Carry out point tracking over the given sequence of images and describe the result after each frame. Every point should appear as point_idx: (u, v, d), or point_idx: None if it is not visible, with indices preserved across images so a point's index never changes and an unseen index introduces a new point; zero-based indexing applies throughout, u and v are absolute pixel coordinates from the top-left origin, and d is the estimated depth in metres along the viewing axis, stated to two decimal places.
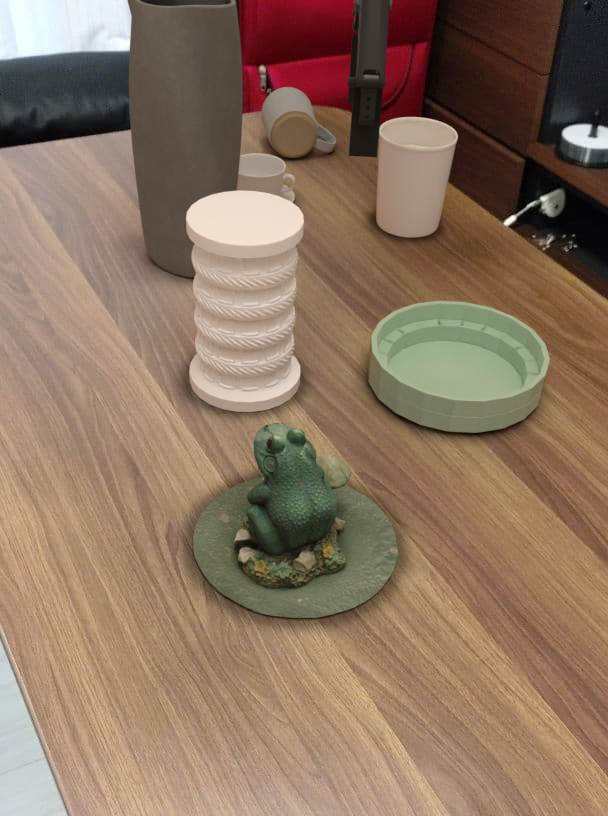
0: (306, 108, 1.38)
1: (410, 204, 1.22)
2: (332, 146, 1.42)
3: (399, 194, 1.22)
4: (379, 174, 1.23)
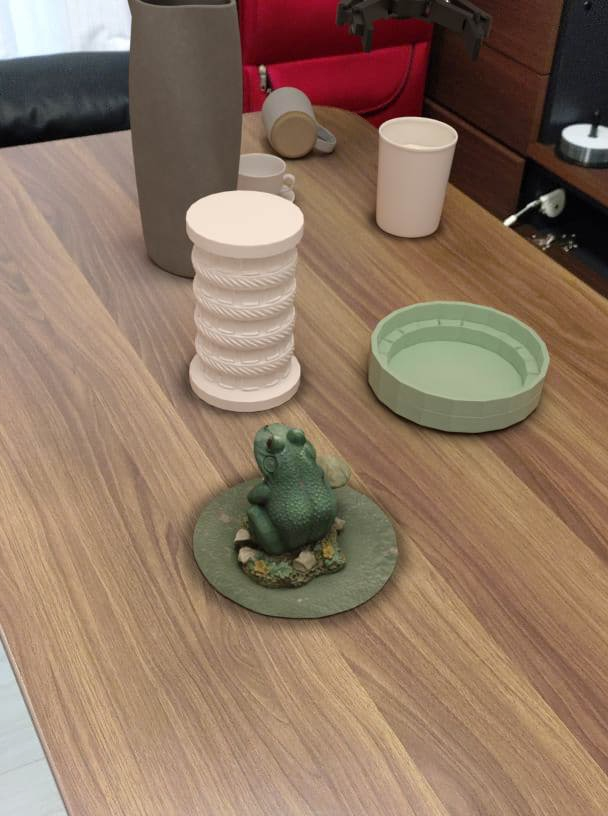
0: (306, 108, 1.38)
1: (410, 204, 1.22)
2: (332, 146, 1.42)
3: (399, 194, 1.22)
4: (379, 174, 1.23)
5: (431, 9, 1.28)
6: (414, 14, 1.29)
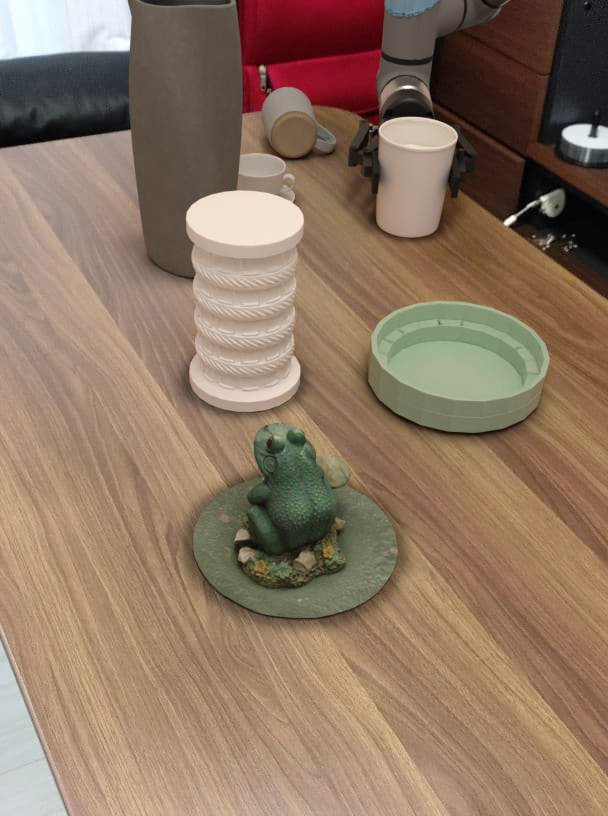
0: (306, 108, 1.38)
1: (410, 204, 1.22)
2: (332, 146, 1.42)
3: (399, 194, 1.22)
4: None
5: None
6: None
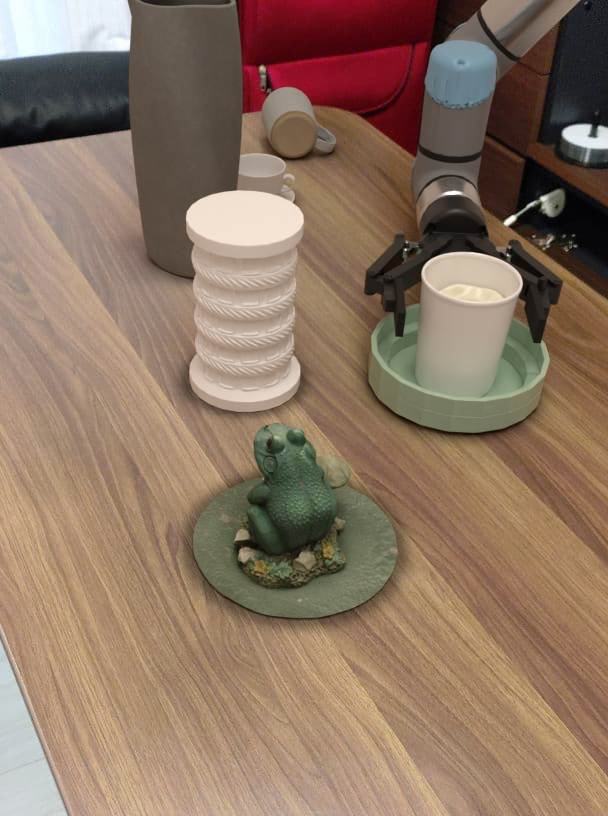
0: (306, 108, 1.38)
1: (461, 364, 0.96)
2: (332, 146, 1.42)
3: (446, 352, 0.96)
4: (421, 326, 0.97)
5: None
6: None
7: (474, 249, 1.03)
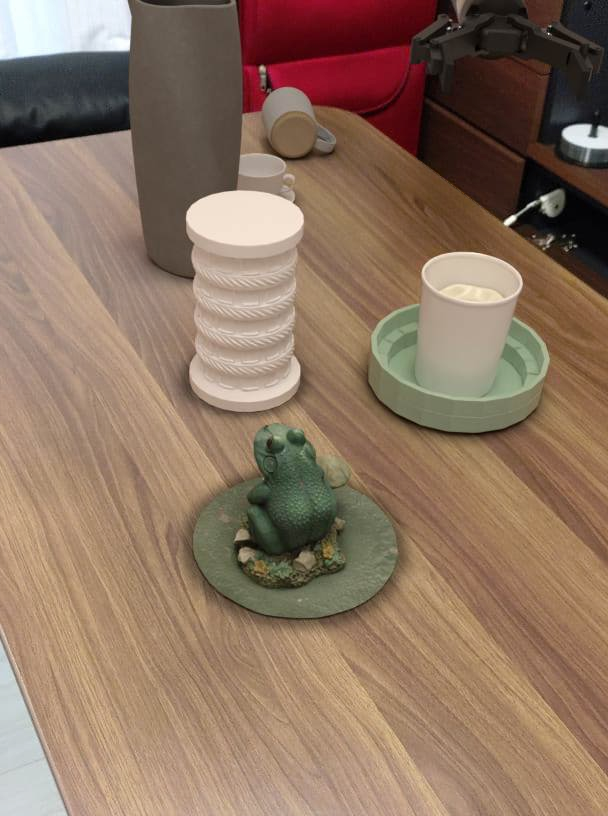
0: (306, 108, 1.38)
1: (461, 364, 0.96)
2: (332, 146, 1.42)
3: (446, 352, 0.96)
4: (421, 326, 0.97)
5: (528, 43, 1.06)
6: (507, 50, 1.07)
7: (516, 26, 1.06)
